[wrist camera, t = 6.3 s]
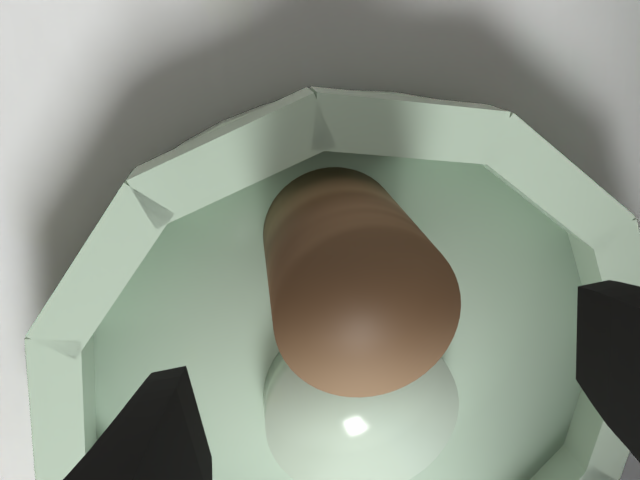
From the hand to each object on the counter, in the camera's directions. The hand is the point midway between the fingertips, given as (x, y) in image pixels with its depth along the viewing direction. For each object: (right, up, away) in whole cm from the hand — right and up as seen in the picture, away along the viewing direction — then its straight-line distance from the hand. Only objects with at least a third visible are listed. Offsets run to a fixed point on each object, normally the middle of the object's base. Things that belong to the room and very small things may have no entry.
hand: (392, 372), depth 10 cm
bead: (-1, +3, +6) cm, 7 cm away
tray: (0, -2, +9) cm, 9 cm away
